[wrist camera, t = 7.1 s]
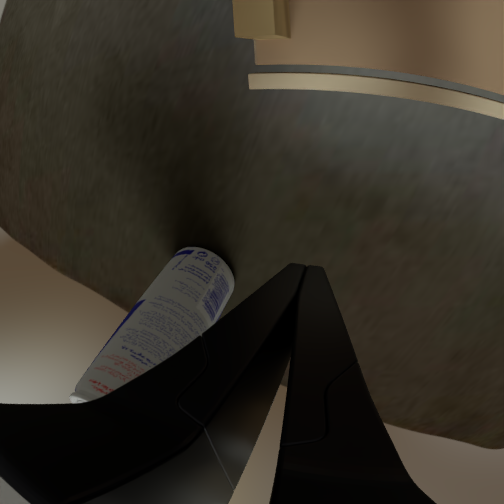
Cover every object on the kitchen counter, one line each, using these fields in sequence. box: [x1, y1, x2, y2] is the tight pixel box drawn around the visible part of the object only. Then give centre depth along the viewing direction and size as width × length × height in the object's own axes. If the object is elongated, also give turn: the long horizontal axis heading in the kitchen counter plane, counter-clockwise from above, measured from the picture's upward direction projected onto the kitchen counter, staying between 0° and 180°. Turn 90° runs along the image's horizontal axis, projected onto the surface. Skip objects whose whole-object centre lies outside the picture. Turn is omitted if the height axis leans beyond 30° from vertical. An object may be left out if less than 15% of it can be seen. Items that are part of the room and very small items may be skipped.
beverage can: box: [70, 247, 234, 403], centre depth 21 cm, size 6×6×15 cm
